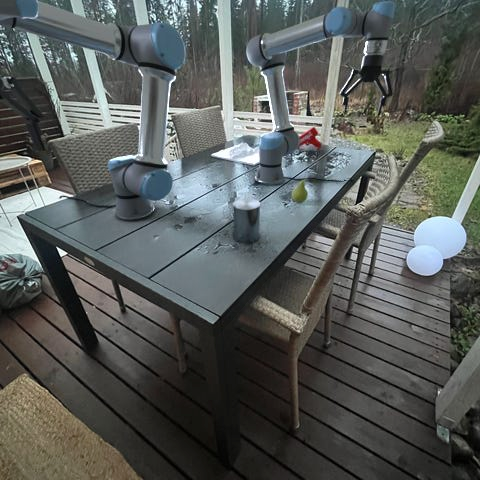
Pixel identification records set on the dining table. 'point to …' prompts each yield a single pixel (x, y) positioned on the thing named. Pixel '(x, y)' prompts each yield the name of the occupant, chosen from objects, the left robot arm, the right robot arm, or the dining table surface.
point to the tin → (246, 220)
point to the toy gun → (310, 138)
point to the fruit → (300, 192)
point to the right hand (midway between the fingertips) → (361, 114)
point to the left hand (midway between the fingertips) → (14, 157)
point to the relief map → (240, 154)
